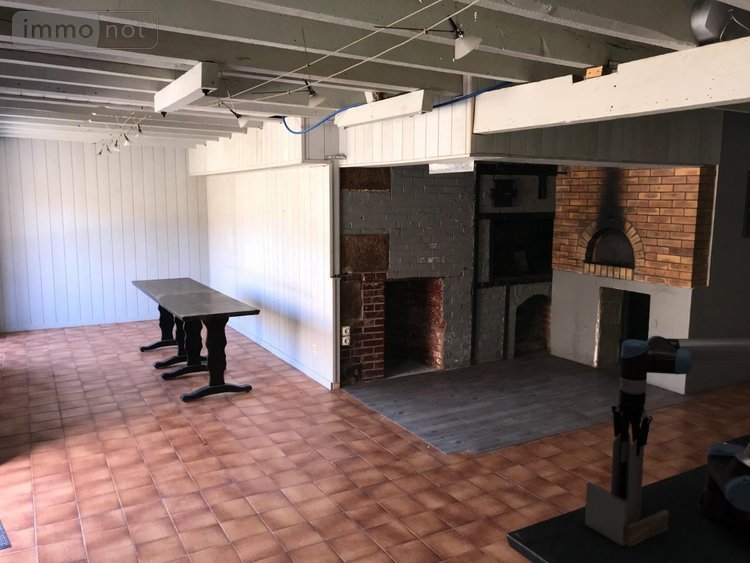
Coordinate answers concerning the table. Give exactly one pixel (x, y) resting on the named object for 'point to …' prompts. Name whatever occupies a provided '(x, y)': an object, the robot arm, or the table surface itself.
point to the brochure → (628, 477)
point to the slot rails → (646, 527)
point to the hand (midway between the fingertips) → (628, 462)
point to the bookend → (606, 513)
